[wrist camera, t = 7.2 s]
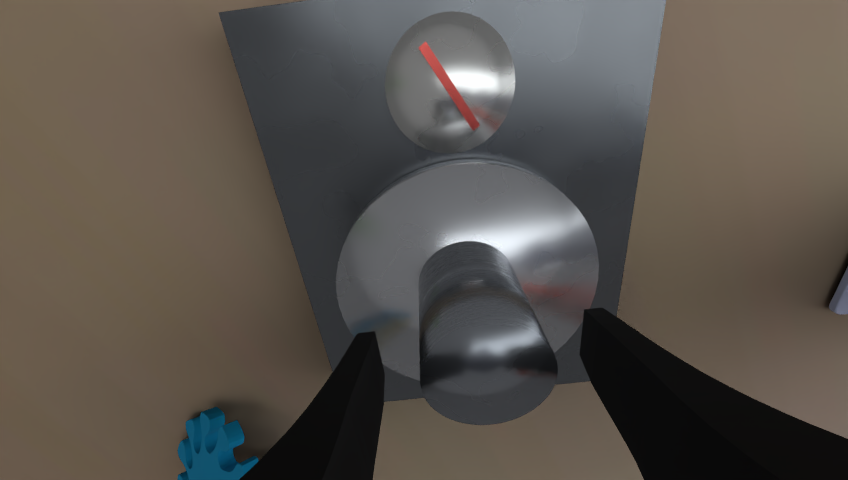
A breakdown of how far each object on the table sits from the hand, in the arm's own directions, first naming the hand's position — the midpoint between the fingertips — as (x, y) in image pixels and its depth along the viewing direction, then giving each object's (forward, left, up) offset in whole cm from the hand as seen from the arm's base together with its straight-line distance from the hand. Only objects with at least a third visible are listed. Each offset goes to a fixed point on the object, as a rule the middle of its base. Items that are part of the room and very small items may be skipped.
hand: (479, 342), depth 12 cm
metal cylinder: (0, -1, -3) cm, 3 cm away
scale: (0, -2, -6) cm, 7 cm away
